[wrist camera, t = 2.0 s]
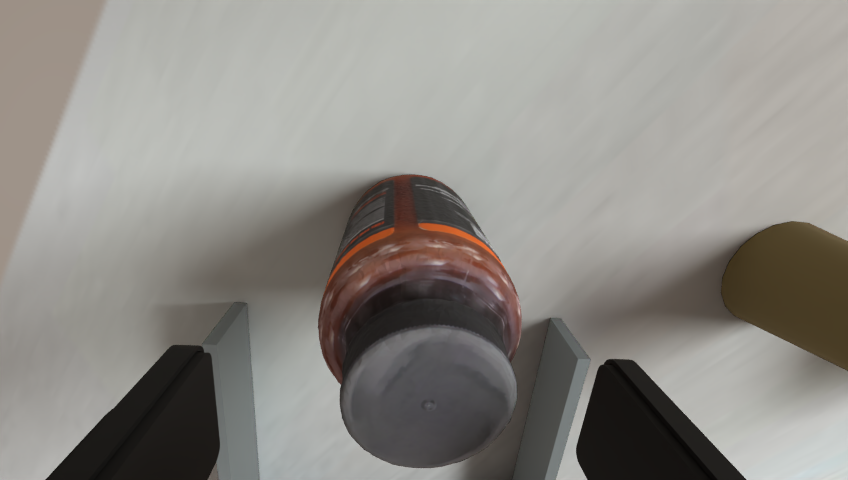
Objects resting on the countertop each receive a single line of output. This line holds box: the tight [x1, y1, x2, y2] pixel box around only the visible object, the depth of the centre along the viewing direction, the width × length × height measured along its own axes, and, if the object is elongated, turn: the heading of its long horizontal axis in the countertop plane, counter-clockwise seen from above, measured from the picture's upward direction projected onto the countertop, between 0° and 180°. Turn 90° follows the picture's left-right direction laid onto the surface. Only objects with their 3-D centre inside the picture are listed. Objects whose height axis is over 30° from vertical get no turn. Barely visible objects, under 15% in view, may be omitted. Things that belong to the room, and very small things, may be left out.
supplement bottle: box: [318, 175, 521, 468], centre depth 14 cm, size 6×6×11 cm
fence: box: [202, 303, 591, 480], centre depth 21 cm, size 14×17×4 cm
